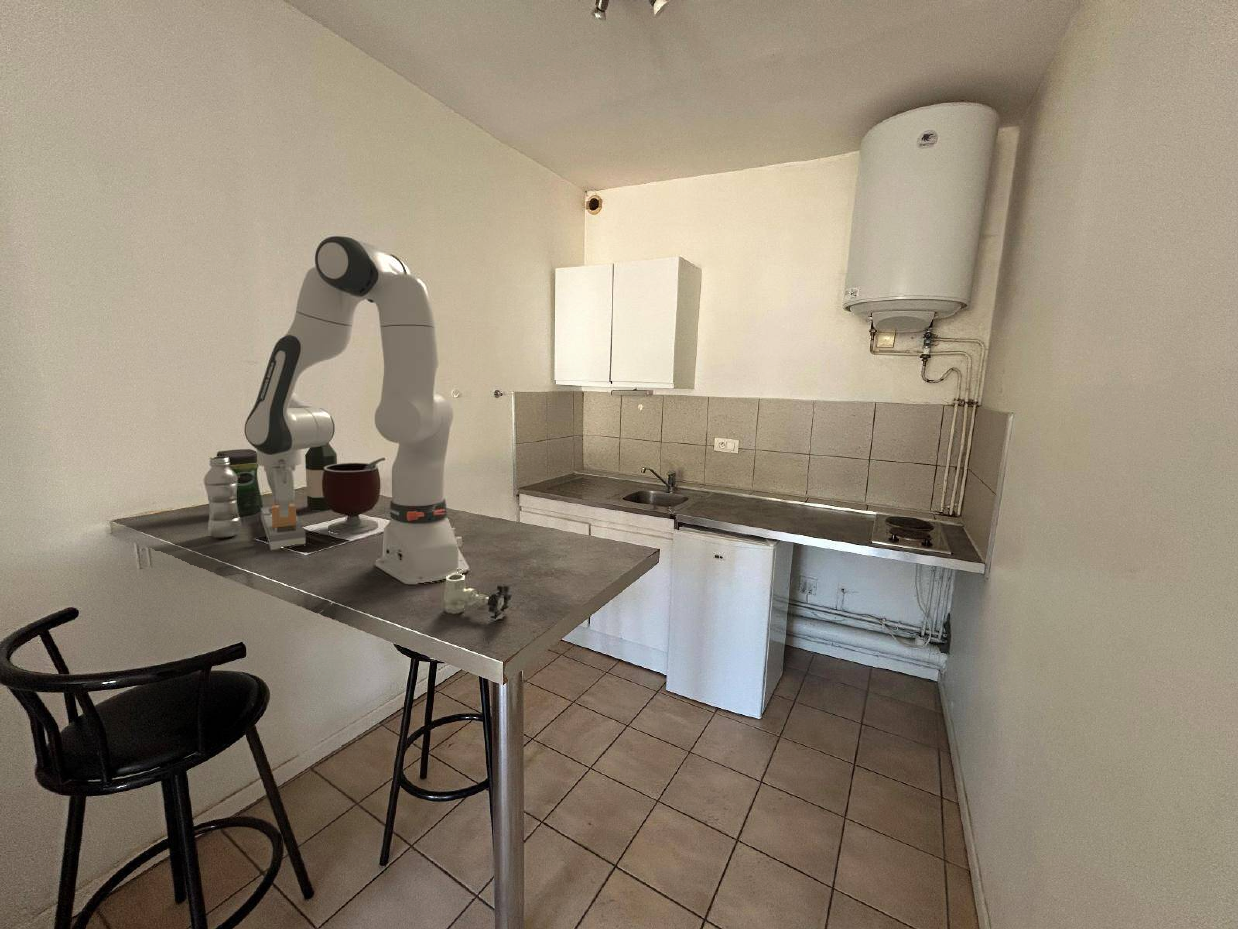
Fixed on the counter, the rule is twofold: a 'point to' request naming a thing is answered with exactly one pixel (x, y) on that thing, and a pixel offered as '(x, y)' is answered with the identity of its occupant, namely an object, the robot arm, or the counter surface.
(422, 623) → the counter surface
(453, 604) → the valve
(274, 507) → the fader knob
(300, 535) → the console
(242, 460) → the coffee jar
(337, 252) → the robot arm
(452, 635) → the counter surface
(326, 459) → the wine bottle
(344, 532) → the mate gourd
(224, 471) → the silver ridged bottle
